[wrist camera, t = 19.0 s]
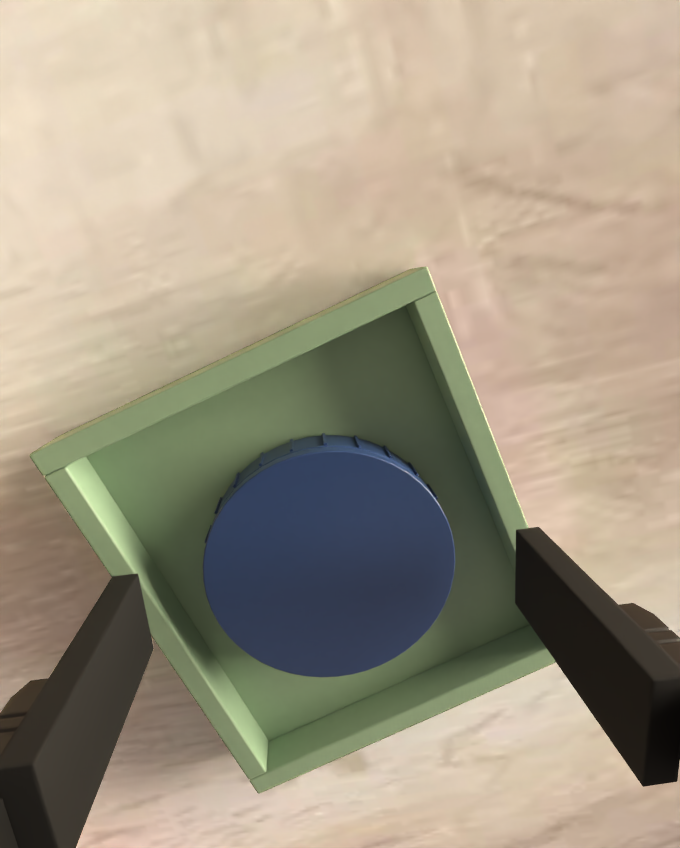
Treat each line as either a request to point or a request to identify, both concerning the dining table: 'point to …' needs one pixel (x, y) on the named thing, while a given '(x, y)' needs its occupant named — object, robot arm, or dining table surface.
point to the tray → (261, 432)
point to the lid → (328, 557)
